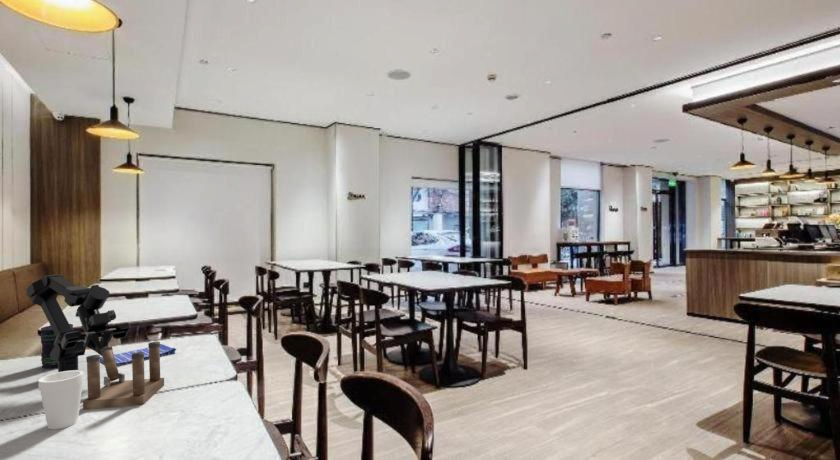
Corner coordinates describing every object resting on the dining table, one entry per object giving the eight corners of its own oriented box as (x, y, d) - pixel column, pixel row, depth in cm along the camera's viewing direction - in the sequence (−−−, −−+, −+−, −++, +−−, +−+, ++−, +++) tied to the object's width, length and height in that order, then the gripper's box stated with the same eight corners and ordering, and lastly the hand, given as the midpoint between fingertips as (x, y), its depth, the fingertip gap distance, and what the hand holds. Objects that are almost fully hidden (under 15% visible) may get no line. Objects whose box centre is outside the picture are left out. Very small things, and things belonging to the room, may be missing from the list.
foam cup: (93, 418, 121) (91, 372, 121) (55, 434, 113) (54, 384, 112) (69, 414, 124) (68, 369, 124) (31, 429, 116) (29, 380, 115)
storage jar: (72, 359, 177) (71, 322, 177) (76, 364, 170) (75, 326, 170) (39, 365, 170) (38, 327, 169) (42, 371, 163) (41, 331, 163)
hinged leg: (106, 382, 141) (98, 350, 144) (118, 379, 144) (109, 348, 147) (110, 379, 140) (102, 347, 143) (121, 376, 142) (113, 344, 145)
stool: (80, 409, 127) (78, 359, 127) (109, 388, 144) (108, 343, 144) (143, 404, 131) (142, 354, 130) (165, 384, 147) (164, 340, 147)
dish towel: (178, 354, 183) (177, 347, 183) (111, 369, 165) (110, 362, 165) (161, 347, 194) (161, 341, 194) (97, 361, 176) (97, 354, 176)
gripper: (63, 308, 140) (77, 348, 134) (128, 299, 156) (143, 334, 150) (54, 329, 145) (68, 368, 139) (118, 318, 160) (133, 353, 154)
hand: (105, 355), depth 145 cm, fingers closed, pressing on hinged leg
